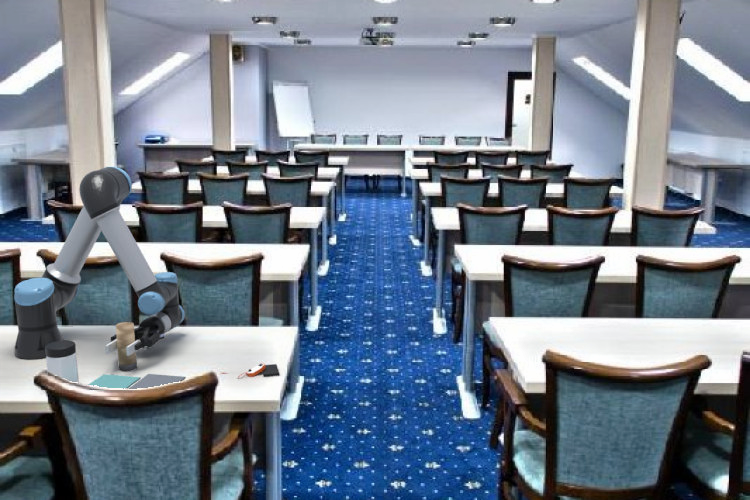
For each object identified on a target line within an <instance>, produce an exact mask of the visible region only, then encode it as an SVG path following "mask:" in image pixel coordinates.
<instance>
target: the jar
mask: <svg viewBox="0 0 750 500" xmlns="http://www.w3.org/2000/svg"><path fill="white" fill-rule="evenodd" d="M76 347H77V345H76V342H75V341H73V340H68V339H66V340H65V339H63V340H61V341H55V342H51V343H49V344H47V345H46V346H45V352H46V357H45V359H46V369H47V370H46V371H47V372H48V371H49V372H51V373H53V374H55V375H57V376H60V377H62V378H65V379H67V380H69V381H72V382H78V383H79V369H78V358H77V349H76Z"/></svg>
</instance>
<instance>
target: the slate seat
mask: <svg viewBox="0 0 750 500" xmlns="http://www.w3.org/2000/svg"><path fill="white" fill-rule="evenodd" d="M185 379H186V376H182V375H170V374H169V375H166V374H155V373H147V374H145V376H144V377H142V378H140V379H139V380H138V381H136V382H135V383H134V384H132V385H131V386H130V387H128V389H137V388H148V387H154V386H160V385H161V384H162V385H164V384H168V383H173V382H179V381H181V382H182V380H183V381H184V380H185Z"/></svg>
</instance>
